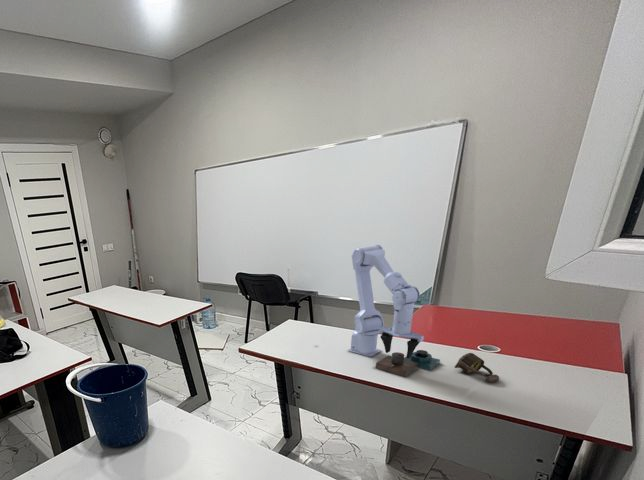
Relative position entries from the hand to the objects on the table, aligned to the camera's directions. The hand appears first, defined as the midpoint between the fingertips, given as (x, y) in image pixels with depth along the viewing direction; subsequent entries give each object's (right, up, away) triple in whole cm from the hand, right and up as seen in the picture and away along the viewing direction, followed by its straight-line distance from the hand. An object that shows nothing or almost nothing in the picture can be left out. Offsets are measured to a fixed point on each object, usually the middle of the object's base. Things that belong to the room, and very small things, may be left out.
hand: (398, 354), depth 135 cm
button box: (+11, -3, +4) cm, 12 cm away
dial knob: (0, -3, +1) cm, 3 cm away
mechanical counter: (+22, -8, -9) cm, 25 cm away
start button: (+11, 0, +3) cm, 11 cm away
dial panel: (+1, -5, +2) cm, 6 cm away
